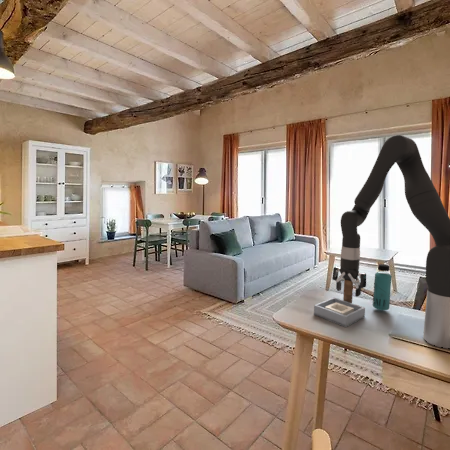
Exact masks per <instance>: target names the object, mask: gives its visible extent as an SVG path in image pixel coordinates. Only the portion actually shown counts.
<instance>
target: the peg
mask: <svg viewBox="0 0 450 450" xmlns="http://www.w3.org/2000/svg"><path fill="white" fill-rule="evenodd" d="M343 280H344V281H343V297H342V298H343V299H342V300H343V301H346V302H349V303H352V304H353V296H354V295H353V293H354V291H353V290H354V284H353V282H352V281H349V280H345V279H343Z"/></svg>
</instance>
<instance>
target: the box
mask: <svg viewBox="0 0 450 450" xmlns="http://www.w3.org/2000/svg"><path fill="white" fill-rule="evenodd" d="M313 315H314V316H317V317H319V318H321V319H324V320H327V321H329V322H332V323H334V324H337V325H339V326H341V327H344V328H347V327H348V326H350V325H352V324H355V323H357V322H358V321H360V320H362V319H364V318H365V316H366V307H365V306H361V305H358V304H356V303H353V302H352V303H349V302H346V301H343V299H341V298H340V299H339V298H337V297H331V298H328V299H326V300H324V301H321V302H319V303H316V304H314V305H313Z"/></svg>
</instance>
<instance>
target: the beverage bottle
mask: <svg viewBox="0 0 450 450" xmlns="http://www.w3.org/2000/svg"><path fill="white" fill-rule="evenodd" d="M377 270H378V271H377V272H375V274H374V282H373V296H372V297H373V298H372V306H373V308H374V309H377V310H381V311H388V310H389V309H390V306H391V305H390V304H391V288H392V278H393V276H392V275H391V274H390V272H389V271H390V265H389V264H386V263H385V264H383V263H380V264H378V267H377Z"/></svg>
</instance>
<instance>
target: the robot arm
mask: <svg viewBox="0 0 450 450" xmlns="http://www.w3.org/2000/svg"><path fill="white" fill-rule="evenodd" d="M395 164H397V166H398V168H399V170H400V172H401V174H402V176H403V180H404V181H403V182H404V195H405V199H406V202H407V204H408V206H409V209H410V210H411V213H412V214H413V216H414V217H415V218H416V219H417V221H418V223H420V224H421V225H422V226H423V227H424V228H425V229H426V230H427V231H428V232H429V233H430V235H431V237H432V238H433V241H434V243H435V245H436V246H433V247H432V248H430V249H429V250H428V252H427V255H426V259H425V260H426V261H425V282H426V285H427V290H426V301H425V313H424V321H423V322H424V324H423V335H422V336H423V337H422V338H423V340H424V339H425V340H426V341H427V342H426V341H425V340H424V341H425V342H426V343H427V344H430V345H432V346H434V345H435V347H438V348H441V347H443V349H448V348H450V217H449V214H448V212H447V210H446V208H445V206H444V203H443V202H442V199H441V198H440V195H439V193H438V191H437V189H436V187H435V186H434V183H433V181H432V179H431V177H430V175H429V173H428V171H427V170H426V168H425V166H424V163H423V160H422V157H421V153H420V150H419V147H418V145H417V143H416V141H414V140H413V139H412V138H410V137H407V136H403V135H402V134H393V135H392V136H390V137H388V138H387V139H386V140H385V141H384V142H383V145H382V146H381V148H380V150H379V153H378V156H377V158H376V160H375V162H374V164H373V167H372V168H371V171H370V173H369V175H368V177H367V179H366V181H365V182H364V184H363V186H362V187H361V189H360V190H359V192H358V194H357V196H356V197H355V198H354V206H353V208H352V209H351V210H346V211H344V212H343V213H342V215H341V217H340V228H341V235H342V238H341V239H342V240H341V241H342V243H341V249H340V261H339V263H340V264H339V265H340V267H339V266H334V267H333V268H332V271H333V272H332V277H331V278H332V280H333V281H335V282H336V285H335V286H336V288H335V289H336V290H337V291H338V292H341V291H342V281H343V280H344V279H345V280H349V281H352V282H353V285H354V286H355V294H354V295H355V296H354V297H359V296H361V295H362V289H363V288H366V287H367V273H365V272H364V273H361V272H360V260H361V259H360V258H361V235H360V234H359V233H358V227H360V226H361V225H362V224H363V223H364V222H365V221H366V219H367V218H368V215H369V213H370V210H371V209H372V206H373V205H375V202H376V201H377V199H378V198H379V196H380V194H381V193H382V190H383V187H384V185H385V180H386V178H387V175H388V173H389V172H390V170H391V169H392V167H393V166H394V165H395ZM339 272H340V275H339Z"/></svg>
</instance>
